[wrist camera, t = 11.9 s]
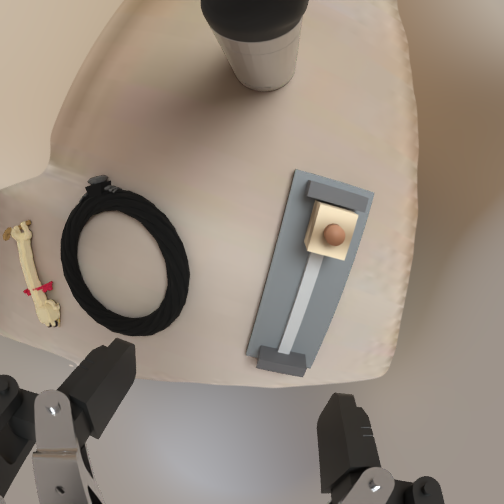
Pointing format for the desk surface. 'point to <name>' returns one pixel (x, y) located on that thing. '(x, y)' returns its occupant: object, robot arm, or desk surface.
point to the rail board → (304, 279)
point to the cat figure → (34, 276)
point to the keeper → (330, 230)
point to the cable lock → (164, 233)
